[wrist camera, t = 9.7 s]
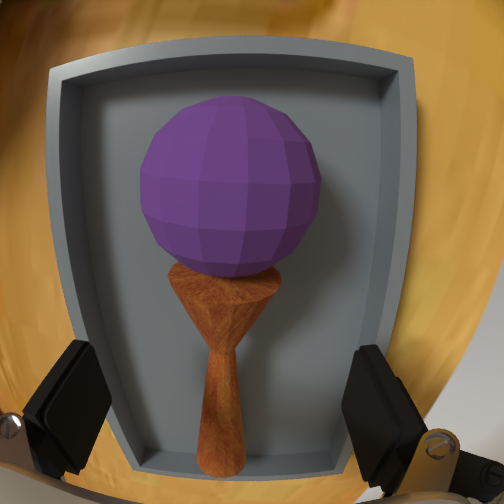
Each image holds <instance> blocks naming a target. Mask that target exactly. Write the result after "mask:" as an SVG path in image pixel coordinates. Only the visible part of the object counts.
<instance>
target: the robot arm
mask: <svg viewBox="0 0 504 504" xmlns="http://www.w3.org/2000/svg"><path fill="white" fill-rule="evenodd" d="M111 404H112V396H111V393H110V391H109V388H108V386H107V383H106V380H105V378H104V375H103V372H102V369H101V367H100V364H99V361H98V358H97V355H96V352H95V349H94V347H93V346H92V345H91V344H90V343H89V342H88V341H83V340H76V339H75V340H73V341H72V342H71V344H70V345H69V346H68V347H67V349H66V350H65V351H64V353H63V354H62V355H61V357H60V358H59V359H58V361H57V362H56V363H55V365H54V366H53V367H52V369H51V370H50V372H49V373H48V374H47V376H46V377H45V379H44V380H43V381H42V383H41V384H40V386H39V387H38V388H37V390H36V391H35V393H34V394H33V396H32V397H31V399H30V400H29V402H28V403H27V405H26V406H25V408H24V409H23V411H22V412H23V413H24V415H23V416H22V417H21V416H20V415H18V414H17V413H12V412H10V413H5V414H2V415H1V416H0V504H142V503H137V502H132V501H128V500H123V499H119V498H115V497H111V496H107V495H104V494H100V493H97V492H93V491H90V490H87V489H84V488H81V487H78V486H75V485H72V484H69V483H67V482H66V480H65V477H64V473H65V471H67V472H70V473H73V474H76V475H79V472H80V470H81V469H84V468H85V466H86V463H87V461H88V458H89V456H90V453H91V451H92V448H93V446H94V444H95V441H96V439H97V436H98V434H99V432H100V429H101V427H102V425H103V422H104V420H105V418H106V416H107V413H108V411H109V409H110V406H111ZM341 409H342V413H343V416H344V419H345V422H346V425H347V429H348V432H349V435H350V438H351V442H352V445H353V448H354V452H355V455H356V458H357V462H358V465H359V468H360V472H361V475H362V478H363V480H364V481H365V482H367V481H368V483H369V487H370V488H372V487H376V486H381V489H382V491H383V492H384V493H383V495H382V496H381V498H380V499H376V500H371V501H366V502H361V503H356V504H504V465H503V464H501V463H499V462H497V461H493V460H490V459H487V458H484V457H480V456H477V455H474V454H471V453H468V452H465V451H462V450H460V444H459V440H458V439H457V437H456V436H455V435H454V434H453V433H452V432H450V431H448V430H445V429H432V430H429V431H428V429H427V427H426V425H425V423H424V421H423V419H422V417H421V415H420V414H419V412H418V410H417V408H416V406H415V404H414V403H413V401H412V399H411V397H410V395H409V394H408V392H407V390H406V388H405V387H404V385H403V383H402V381H401V380H400V379H399V378H398V377H395V375H394V373H393V371H392V370H391V368H390V366H389V364H388V363H387V361H386V359H385V357H384V356H383V354H382V352H381V350H380V349H379V347H378V346H377V345H376V344H372V345H362V346H360V347H359V350H355V352H354V355H353V359H352V364H351V368H350V372H349V376H348V379H347V383H346V387H345V391H344V394H343V398H342V402H341Z"/></svg>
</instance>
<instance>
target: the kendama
mask: <svg viewBox="0 0 504 504" xmlns="http://www.w3.org/2000/svg"><path fill="white" fill-rule="evenodd" d="M321 179H322V178H321V175H320V171H319V168H318V164H317V161H316V158H315V154H314V151H313V148H312V144H311V142H310V141H309V140H308V139H307V138H306V136H305V135H304V134H303V133H302V132H301V130H300V129H299V128H298V127H297V126H296V125H295V123H294V122H293V121H292V120H291V119H290V118H289V117H288V115H287V114H285V113H283V112H281V111H279V110H277V109H275V108H272V107H270V106H268V105H266V104H264V103H262V102H260V101H258V100H255V99H253V98H250V97H244V96H218V97H215V98H212V99H209V100H206V101H203V102H200V103H197V104H194V105H192V106H189V107H186V108H184V109H182V110H180V111H179V112H178V113H177V114H176V115H175V116H174V117H173V118H172V119H171V120H169V121H168V122H167V123H166V124H165V125H164V126H163V127H162V128H161V129H160V130H159V131H158V132H157V133H156V134H155V135H154V137H153V139H152V141H151V144H150V146H149V148H148V150H147V153H146V155H145V157H144V160H143V162H142V165H141V167H140V204H141V208H142V212H143V215H144V217H145V219H146V221H147V223H148V225H149V228H150V230H151V232H152V234H153V236H154V238H155V240H156V242H157V244H158V245H159V246H160V247H161V248H163V249H164V250H165V251H166V252H168V253H169V254H170V255H171V256H173V257H174V258H175V259H176V260H178V261H179V262H177V263H176V264H174V265H173V266H172V267H171V269H170V271H169V273H168V275H167V276H168V278H169V281H170V284H171V287H172V288H173V290H174V292H175V293H176V295H177V297H178V298H179V300H180V302H181V303H182V305H183V307H184V308H185V310H186V312H187V313H188V315H189V316H190V318H191V320H192V321H193V323H194V324H195V326H196V328H197V329H198V331H199V332H200V334H201V335H202V337H203V339H204V340H205V342H206V343H207V345H208V346H209V348H210V350H209V357H208V365H207V372H206V380H205V388H204V396H203V404H202V412H201V420H200V429H199V438H198V446H197V456H196V461H197V463H198V466H199V468H200V469H201V470H202V471H203V472H204V473H205V474H208V475H210V476H212V477H215V478H228V477H232V476H235V475H236V474H238V473H239V472H241V471H242V470H243V468H244V466H245V464H246V450H245V441H244V432H243V423H242V413H241V403H240V393H239V383H238V373H237V362H236V351H235V348H236V347H237V346H238V344H239V343H240V342H241V340H242V339H243V337H244V336H245V335H246V333H247V332H248V331H249V329H250V328H251V326H252V325H253V324H254V322H255V321H256V319H257V318H258V317H259V315H260V314H261V312H262V311H263V309H264V308H265V307H266V305H267V304H268V302H269V301H270V300H271V298H272V297H273V295H274V294H275V292H276V291H277V289H278V288H279V287H280V285H281V284H282V280H281V275H280V272H279V271H278V270H276V269H275V268H274V267H273V265H274V264H276V263H277V262H279V261H280V260H282V259H283V258H285V257H286V256H288V255H290V254H291V253H292V252H293V251H294V250H295V248H296V247H297V246H298V244H299V243H300V241H301V240H302V238H303V236H304V235H305V233H306V231H307V230H308V228H309V227H310V225H311V223H312V222H313V220H314V218H315V217H316V215H317V210H318V203H319V195H320V187H321Z"/></svg>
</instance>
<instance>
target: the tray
mask: <svg viewBox="0 0 504 504" xmlns="http://www.w3.org/2000/svg"><path fill="white" fill-rule="evenodd" d="M218 96H244V97H250V98H253V99H255V100H258V101H260V102H262V103H264V104H266V105H268V106H270V107H272V108H275V109H277V110H279V111H281V112H283V113H285V114H287V115H288V117H289V118H290V119H291V120H292V121H293V122H294V123H295V125H296V126H297V127H298V128H299V129H300V130H301V132H302V133H303V134H304V135H305V136H306V138H307V139H308V140H309V141H310V142H311V144H312V148H313V151H314V154H315V158H316V161H317V164H318V168H319V171H320V175H321V178H322V179H321V187H320V195H319V203H318V210H317V215H316V217H315V218H314V220H313V222H312V223H311V225H310V227H309V228H308V230H307V231H306V233H305V235H304V236H303V238H302V240H301V241H300V243H299V244H298V246H297V247H296V248H295V250H294V251H293V252H292V253H291V254H290V255H288V256H286V257H285V258H283V259H282V260H280V261H279V262H277V263H276V264H274V265H273V267H274V268H275V269H276V270H278V271H279V272H280V275H281V280H282V284H281V285H280V287H279V288H278V289H277V291H276V292H275V294H274V295H273V297H272V298H271V300H270V301H269V302H268V304H267V305H266V307H265V308H264V309H263V311H262V312H261V314H260V315H259V317H258V318H257V319H256V321H255V322H254V324H253V325H252V326H251V328H250V329H249V331H248V332H247V333H246V335H245V336H244V337H243V339H242V340H241V342H240V343H239V344H238V346H237V347H236V348H235V351H236V362H237V373H238V383H239V393H240V403H241V413H242V423H243V432H244V441H245V450H246V464H245V466H244V468H243V470H242V471H241V472H239V473H238V474H236V475H235V476H232V477H228V478H215V477H212V476H210V475H208V474H205V473H204V472H203V471H202V470H201V469H200V468H199V466H198V463H197V461H196V456H197V446H198V438H199V429H200V420H201V412H202V404H203V396H204V388H205V380H206V372H207V365H208V357H209V350H210V348H209V346H208V345H207V343H206V342H205V340H204V339H203V337H202V335H201V334H200V332H199V331H198V329H197V328H196V326H195V324H194V323H193V321H192V320H191V318H190V316H189V315H188V313H187V312H186V310H185V308H184V307H183V305H182V303H181V302H180V300H179V298H178V297H177V295H176V293H175V292H174V290H173V288H172V287H171V284H170V281H169V278H168V276H167V275H168V273H169V271H170V269H171V267H172V266H173V265H174V264H176V263H177V262H179V261H178V260H176V259H175V258H174V257H173V256H171V255H170V254H169V253H168V252H166V251H165V250H164V249H163V248H161V247H160V246H159V245H158V244H157V242H156V240H155V238H154V236H153V234H152V232H151V230H150V228H149V225H148V223H147V221H146V219H145V217H144V215H143V212H142V208H141V204H140V167H141V165H142V162H143V160H144V157H145V155H146V153H147V150H148V148H149V146H150V144H151V141H152V139H153V137H154V135H155V134H156V133H157V132H158V131H159V130H160V129H161V128H162V127H163V126H164V125H165V124H166V123H167V122H168V121H169V120H171V119H172V118H173V117H174V116H175V115H176V114H177V113H178V112H179V111H180V110H182V109H184V108H186V107H189V106H192V105H194V104H197V103H200V102H203V101H206V100H209V99H212V98H215V97H218ZM45 144H46V176H47V191H48V203H49V212H50V221H51V228H52V235H53V242H54V248H55V254H56V260H57V265H58V270H59V275H60V280H61V284H62V289H63V293H64V297H65V301H66V305H67V309H68V313H69V316H70V320H71V324H72V327H73V331H74V334H75V337H76V340H83V341H88V342H89V343H90V344H91V345H92V346H93V347H94V349H95V352H96V355H97V358H98V361H99V364H100V367H101V369H102V372H103V375H104V378H105V380H106V383H107V386H108V388H109V391H110V393H111V396H112V404H111V406H110V409H109V411H108V413H107V416H106V419H107V421H108V423H109V425H110V427H111V429H112V431H113V433H114V435H115V437H116V439H117V441H118V443H119V445H120V447H121V449H122V451H123V453H124V455H125V457H126V458H127V460H128V462H129V464H130V466H131V467H132V469H133V470H136V471H141V472H147V473H153V474H159V475H166V476H174V477H182V478H192V479H204V480H222V481H271V480H288V479H301V478H311V477H319V476H327V475H334V474H340V473H343V471H344V469H345V466H346V464H347V462H348V460H349V457H350V455H351V453H352V451H353V445H352V442H351V438H350V435H349V432H348V429H347V425H346V422H345V419H344V416H343V413H342V409H341V402H342V398H343V394H344V391H345V387H346V383H347V379H348V376H349V372H350V368H351V364H352V359H353V355H354V352H355V350H359V347H360V346H362V345H372V344H376V345H377V346H378V347H379V349H380V350H381V352H382V354H383V356H384V357H386V354H387V350H388V347H389V343H390V339H391V335H392V331H393V327H394V323H395V319H396V314H397V310H398V305H399V301H400V296H401V291H402V286H403V280H404V275H405V269H406V263H407V256H408V250H409V243H410V235H411V227H412V218H413V208H414V196H415V182H416V161H417V108H416V88H415V74H414V64H413V58H411V57H407V56H403V55H399V54H395V53H391V52H387V51H383V50H378V49H374V48H369V47H364V46H358V45H353V44H347V43H340V42H333V41H326V40H317V39H308V38H296V37H281V36H215V37H200V38H189V39H179V40H171V41H163V42H156V43H150V44H144V45H138V46H133V47H128V48H123V49H118V50H114V51H109V52H105V53H101V54H97V55H93V56H90V57H86V58H82V59H79V60H76V61H72V62H69V63H66V64H63V65H60V66H57V67H54V68H51V69H50V71H49V81H48V91H47V106H46V138H45Z"/></svg>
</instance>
